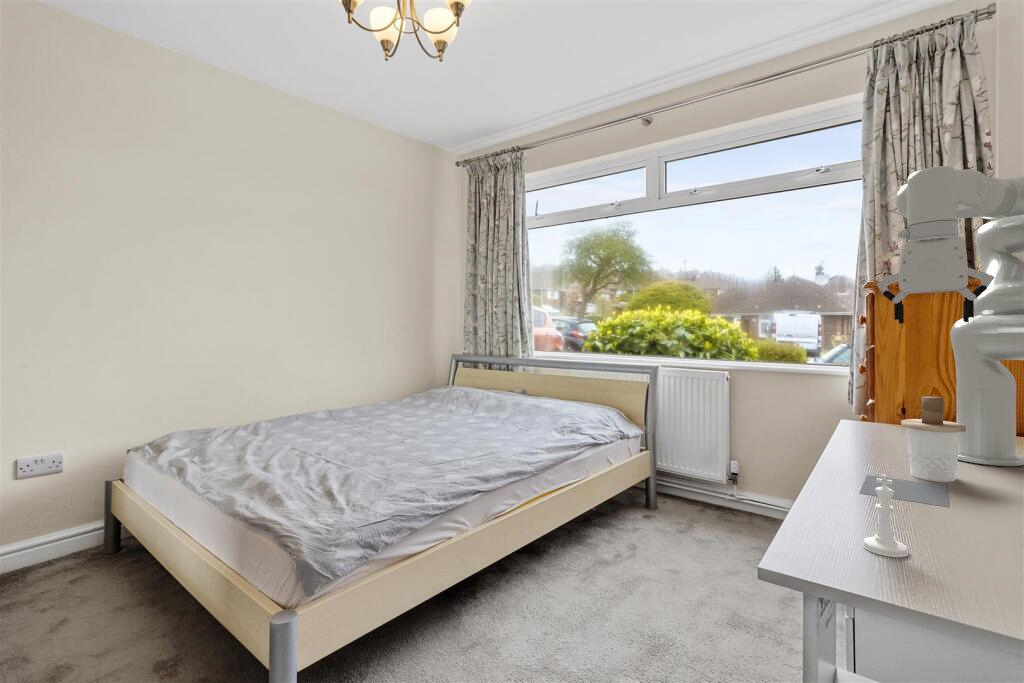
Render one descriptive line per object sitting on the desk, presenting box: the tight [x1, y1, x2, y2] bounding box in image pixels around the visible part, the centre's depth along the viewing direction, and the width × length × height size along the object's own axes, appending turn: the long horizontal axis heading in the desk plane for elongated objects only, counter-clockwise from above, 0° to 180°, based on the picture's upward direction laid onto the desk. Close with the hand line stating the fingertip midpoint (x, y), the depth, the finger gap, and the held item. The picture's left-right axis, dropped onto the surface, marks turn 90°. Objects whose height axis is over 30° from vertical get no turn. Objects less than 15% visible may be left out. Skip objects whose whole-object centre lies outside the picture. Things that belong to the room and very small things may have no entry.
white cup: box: [906, 428, 959, 483], centre depth 98 cm, size 8×8×10 cm
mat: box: [858, 474, 950, 508], centre depth 91 cm, size 14×12×1 cm
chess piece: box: [862, 473, 909, 558], centre depth 67 cm, size 5×5×10 cm
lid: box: [900, 396, 966, 432], centre depth 98 cm, size 10×10×6 cm
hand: (932, 322), depth 97 cm, fingers open, 9 cm apart
